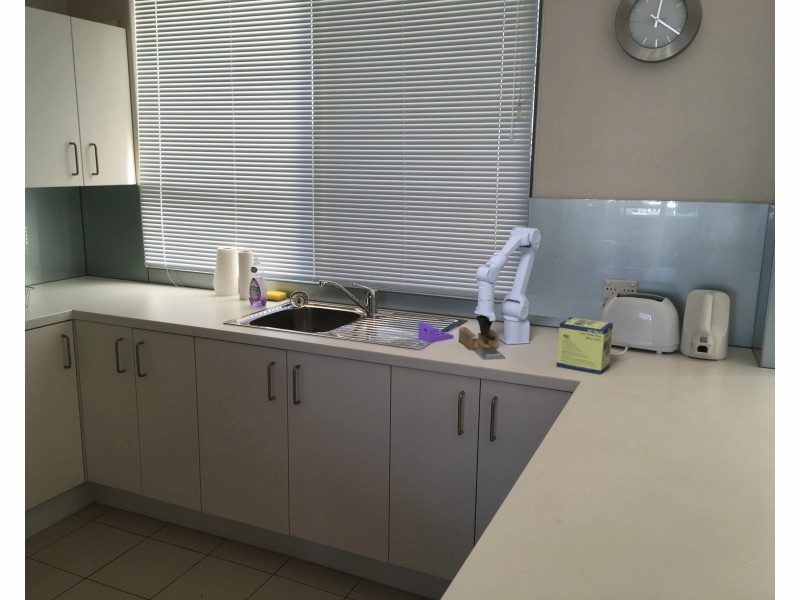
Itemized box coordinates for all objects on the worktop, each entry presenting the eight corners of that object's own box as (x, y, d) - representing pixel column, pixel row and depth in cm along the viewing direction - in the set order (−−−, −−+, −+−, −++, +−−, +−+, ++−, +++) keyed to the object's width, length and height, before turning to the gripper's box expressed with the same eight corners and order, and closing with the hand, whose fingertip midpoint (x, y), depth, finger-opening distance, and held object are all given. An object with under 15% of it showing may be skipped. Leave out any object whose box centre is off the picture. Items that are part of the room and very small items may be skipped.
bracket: (429, 343, 257) (429, 326, 255) (418, 339, 262) (418, 322, 261) (453, 339, 264) (454, 322, 262) (442, 335, 269) (442, 318, 268)
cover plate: (493, 350, 250) (493, 345, 249) (504, 360, 238) (505, 355, 238) (472, 351, 248) (473, 346, 248) (482, 361, 237) (483, 356, 236)
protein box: (601, 375, 222) (605, 329, 219) (555, 366, 230) (558, 322, 227) (610, 367, 231) (613, 322, 228) (565, 359, 239) (568, 316, 236)
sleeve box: (485, 340, 262) (486, 326, 261) (497, 348, 250) (498, 334, 249) (458, 341, 259) (459, 327, 258) (469, 350, 248) (469, 335, 247)
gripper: (468, 295, 251) (467, 331, 254) (482, 304, 237) (481, 341, 240) (486, 294, 252) (485, 330, 255) (501, 303, 239) (499, 340, 242)
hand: (484, 335), depth 248 cm, fingers closed
